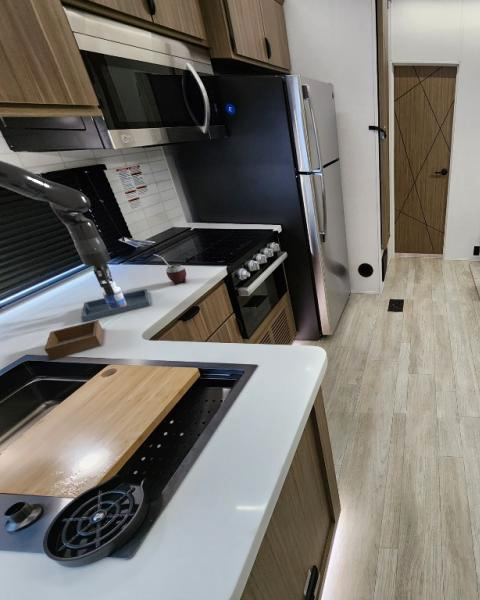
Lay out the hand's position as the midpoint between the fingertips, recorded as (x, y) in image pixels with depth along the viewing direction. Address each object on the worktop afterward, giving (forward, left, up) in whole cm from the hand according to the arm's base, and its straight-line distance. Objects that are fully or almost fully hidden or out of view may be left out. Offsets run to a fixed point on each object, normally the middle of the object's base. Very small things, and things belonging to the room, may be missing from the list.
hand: (111, 291), depth 123 cm
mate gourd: (+21, +11, -7) cm, 25 cm away
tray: (0, 0, -7) cm, 7 cm away
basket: (-10, -23, -7) cm, 26 cm away
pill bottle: (0, 0, -7) cm, 7 cm away
